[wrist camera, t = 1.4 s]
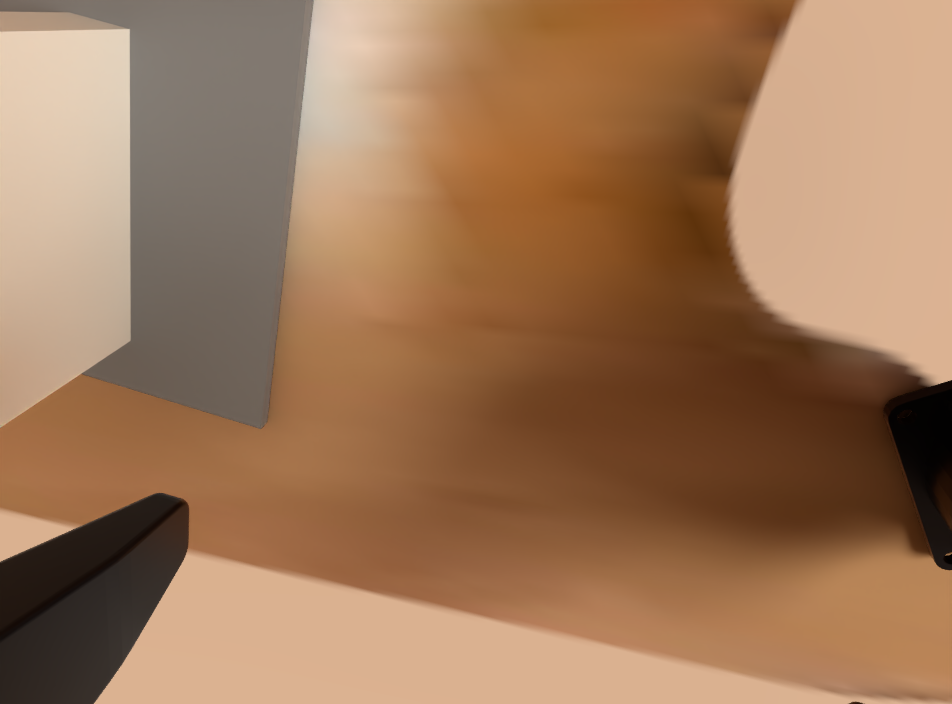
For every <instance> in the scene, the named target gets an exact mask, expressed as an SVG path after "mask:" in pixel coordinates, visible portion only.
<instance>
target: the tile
mask: <svg viewBox="0 0 952 704" xmlns="http://www.w3.org/2000/svg"><path fill="white" fill-rule="evenodd" d="M130 341H131V296H130V29H127V28H124V27H120V26H117V25H113V24H109V23H106V22H102V21H99V20H95V19H91V18H88V17H84V16H81V15H77V14H73V13H70V12H0V428H1V427H2V426H4V425H5V424H7V423H8V422H10V421H11V420H13V419H14V418H16V417H17V416H19V415H20V414H22V413H23V412H25V411H26V410H28V409H29V408H31V407H32V406H34V405H35V404H37V403H38V402H40V401H41V400H43V399H44V398H46V397H47V396H49V395H50V394H52V393H53V392H55V391H56V390H58V389H59V388H61V387H62V386H64V385H65V384H67V383H68V382H70V381H71V380H73V379H74V378H76V377H77V376H79V375H80V374H82V373H83V372H85V371H86V370H88V369H89V368H91V367H92V366H94V365H95V364H97V363H98V362H100V361H101V360H103V359H104V358H106V357H107V356H109V355H110V354H112V353H113V352H115V351H116V350H118V349H119V348H121V347H122V346H124V345H125V344H127V343H128V342H130Z"/></svg>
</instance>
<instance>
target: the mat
mask: <svg viewBox="0 0 952 704" xmlns="http://www.w3.org/2000/svg"><path fill="white" fill-rule="evenodd" d="M312 8H313V0H0V12H70V13H73V14H77V15H81V16H84V17H88V18H91V19H95V20H99V21H102V22H106V23H109V24H113V25H117V26H120V27H124V28H127V29H130V296H131V341H130V342H128V343H127V344H125V345H124V346H122V347H121V348H119V349H118V350H116V351H115V352H113V353H112V354H110V355H109V356H107V357H106V358H104V359H103V360H101V361H100V362H98V363H97V364H95V365H94V366H92V367H91V368H89V369H88V370H86V371H85V372H83V373H82V374H83V375H86V376H90V377H93V378H96V379H100V380H103V381H106V382H109V383H113V384H116V385H119V386H122V387H126V388H129V389H132V390H135V391H139V392H142V393H145V394H148V395H152V396H155V397H158V398H161V399H165V400H168V401H171V402H175V403H178V404H181V405H184V406H188V407H191V408H194V409H197V410H201V411H204V412H207V413H210V414H214V415H217V416H220V417H223V418H227V419H230V420H233V421H236V422H240V423H243V424H246V425H250V426H253V427H256V428H259V429H261V428H262V427H263V426H264V425H265V424H266V423H267V419H268V410H269V401H270V392H271V383H272V374H273V365H274V355H275V346H276V337H277V328H278V319H279V310H280V301H281V291H282V282H283V273H284V264H285V255H286V246H287V237H288V227H289V218H290V209H291V200H292V191H293V182H294V173H295V164H296V154H297V145H298V136H299V127H300V118H301V109H302V100H303V90H304V81H305V72H306V63H307V54H308V45H309V36H310V27H311V17H312Z"/></svg>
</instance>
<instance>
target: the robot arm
mask: <svg viewBox="0 0 952 704" xmlns="http://www.w3.org/2000/svg"><path fill="white" fill-rule="evenodd" d="M904 410H911V413H910V414H909V415H908V416H906V417H904V418H898V415H899V414H900V413H901V412H902V411H904ZM883 413H884V418H885V421H886V424H887V427H888V430H889V433H890V436H891V439H892V442H893V445H894V448H895V451H896V454H897V457H898V460H899V463H900V466H901V469H902V472H903V475H904V478H905V481H906V484H907V487H908V490H909V493H910V496H911V499H912V502H913V505H914V508H915V511H916V514H917V516H918V519H919V522H920V525H921V528H922V531H923V534H924V537H925V540H926V543H927V546H928V549H929V552H930V554H931V556H932V558H933V559H934V561H935V563H936V564H937V566H938V567H940V568H942V569H945V570H952V554H951V555H947V556H945V555H946V554H947V553H949V552H952V380H951V381H948V382H944V383H941V384H938V385H935V386H931V387H928V388H925V389H921V390H918V391H915V392H911V393H908V394H905V395H901V396H898V397H896V398H894V399H892V400H890V401H889V402H888V403H887V404H886V405H885V408H884V410H883ZM188 536H189V505H188V503H187V502H186V501H185V500H184V499H181V498H177V497H174V496H171V495H167V494H164V493H156V494H153V495H150V496H148V497H146V498H144V499H141V500H139V501H137V502H134V503H132V504H130V505H128V506H125V507H123V508H121V509H119V510H116V511H114V512H112V513H110V514H107V515H105V516H103V517H101V518H98V519H96V520H94V521H91V522H89V523H87V524H85V525H82V526H80V527H78V528H76V529H73V530H71V531H69V532H67V533H65V534H62V535H60V536H58V537H55V538H53V539H51V540H49V541H46V542H44V543H42V544H40V545H37V546H35V547H33V548H30V549H28V550H26V551H24V552H21V553H19V554H17V555H15V556H12V557H10V558H8V559H6V560H3V561H1V562H0V704H94V703H95V701H96V700H97V699H98V697H99V696H100V694H101V693H102V692H103V690H104V689H105V688H106V686H107V685H108V683H109V682H110V681H111V679H112V678H113V677H114V675H115V674H116V672H117V671H118V669H119V668H120V666H121V665H122V663H123V662H124V660H125V659H126V657H127V655H128V654H129V652H130V651H131V649H132V647H133V646H134V644H135V642H136V641H137V639H138V637H139V636H140V634H141V632H142V630H143V629H144V627H145V625H146V623H147V622H148V620H149V618H150V617H151V615H152V613H153V612H154V610H155V608H156V607H157V605H158V603H159V601H160V600H161V598H162V596H163V595H164V593H165V591H166V589H167V588H168V586H169V584H170V583H171V581H172V579H173V577H174V576H175V574H176V572H177V571H178V569H179V567H180V565H181V563H182V562H183V560H184V558H185V555H186V552H187V549H188ZM849 704H863V703H860V702H851V703H849Z"/></svg>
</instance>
